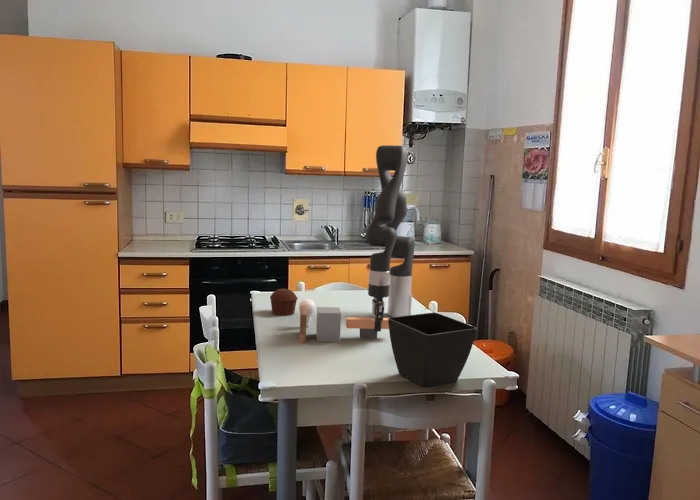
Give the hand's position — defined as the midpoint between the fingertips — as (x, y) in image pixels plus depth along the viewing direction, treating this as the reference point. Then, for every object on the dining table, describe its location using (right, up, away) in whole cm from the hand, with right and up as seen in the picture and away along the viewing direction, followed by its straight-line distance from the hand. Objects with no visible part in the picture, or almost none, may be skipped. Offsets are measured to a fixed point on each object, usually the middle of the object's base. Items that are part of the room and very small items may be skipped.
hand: (376, 329), depth 212 cm
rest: (-3, -3, 0) cm, 4 cm away
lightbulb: (-26, -1, +11) cm, 28 cm away
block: (-18, -3, -1) cm, 18 cm away
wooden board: (-26, -2, -2) cm, 27 cm away
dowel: (-3, +1, 0) cm, 3 cm away
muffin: (-37, +2, +31) cm, 48 cm away
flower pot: (+14, -9, -38) cm, 41 cm away
